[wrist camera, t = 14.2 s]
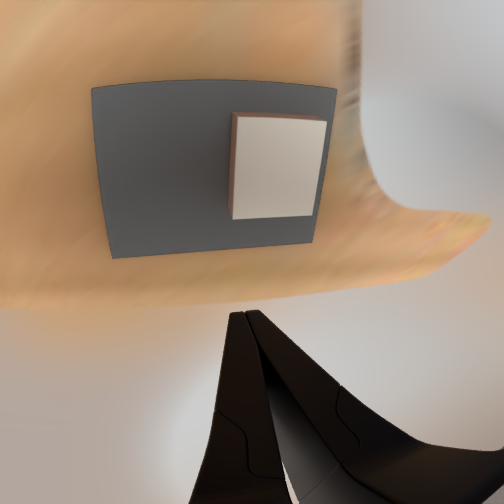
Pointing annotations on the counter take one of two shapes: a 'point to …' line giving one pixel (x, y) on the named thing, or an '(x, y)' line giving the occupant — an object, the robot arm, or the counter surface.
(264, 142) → the tile
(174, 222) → the mat
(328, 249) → the counter surface
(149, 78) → the counter surface
